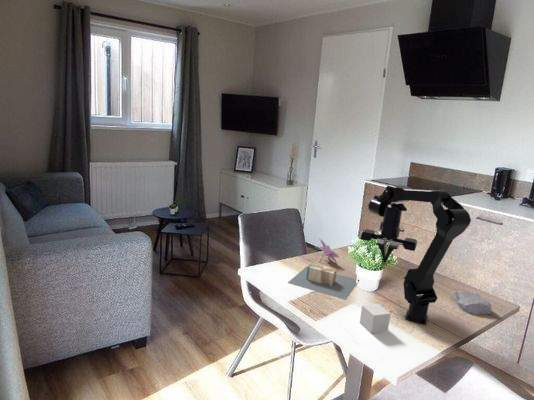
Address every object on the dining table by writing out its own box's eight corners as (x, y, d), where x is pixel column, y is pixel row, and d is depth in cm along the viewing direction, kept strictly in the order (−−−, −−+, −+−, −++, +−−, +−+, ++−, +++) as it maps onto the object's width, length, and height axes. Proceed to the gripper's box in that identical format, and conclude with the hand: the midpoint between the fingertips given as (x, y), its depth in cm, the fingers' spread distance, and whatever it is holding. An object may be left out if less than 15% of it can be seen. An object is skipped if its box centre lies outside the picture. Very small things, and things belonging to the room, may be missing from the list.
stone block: (465, 318, 133) (494, 315, 133) (465, 305, 132) (494, 302, 132) (448, 303, 144) (474, 300, 145) (447, 291, 144) (474, 287, 144)
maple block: (333, 273, 142) (307, 266, 147) (331, 286, 143) (306, 279, 148) (337, 269, 147) (312, 262, 151) (335, 281, 148) (310, 274, 152)
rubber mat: (345, 300, 134) (345, 299, 134) (287, 283, 143) (287, 282, 143) (359, 280, 151) (359, 279, 151) (306, 267, 161) (306, 266, 161)
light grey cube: (359, 323, 120) (362, 305, 119) (375, 321, 122) (378, 303, 121) (370, 334, 114) (373, 315, 113) (387, 331, 117) (390, 313, 115)
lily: (337, 272, 161) (347, 251, 163) (313, 259, 160) (323, 238, 162) (329, 269, 173) (338, 249, 174) (306, 257, 172) (315, 238, 173)
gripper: (422, 221, 139) (414, 261, 143) (369, 211, 147) (364, 250, 151) (418, 227, 130) (410, 271, 133) (363, 217, 138) (357, 258, 141)
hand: (384, 262), depth 140 cm, fingers closed
